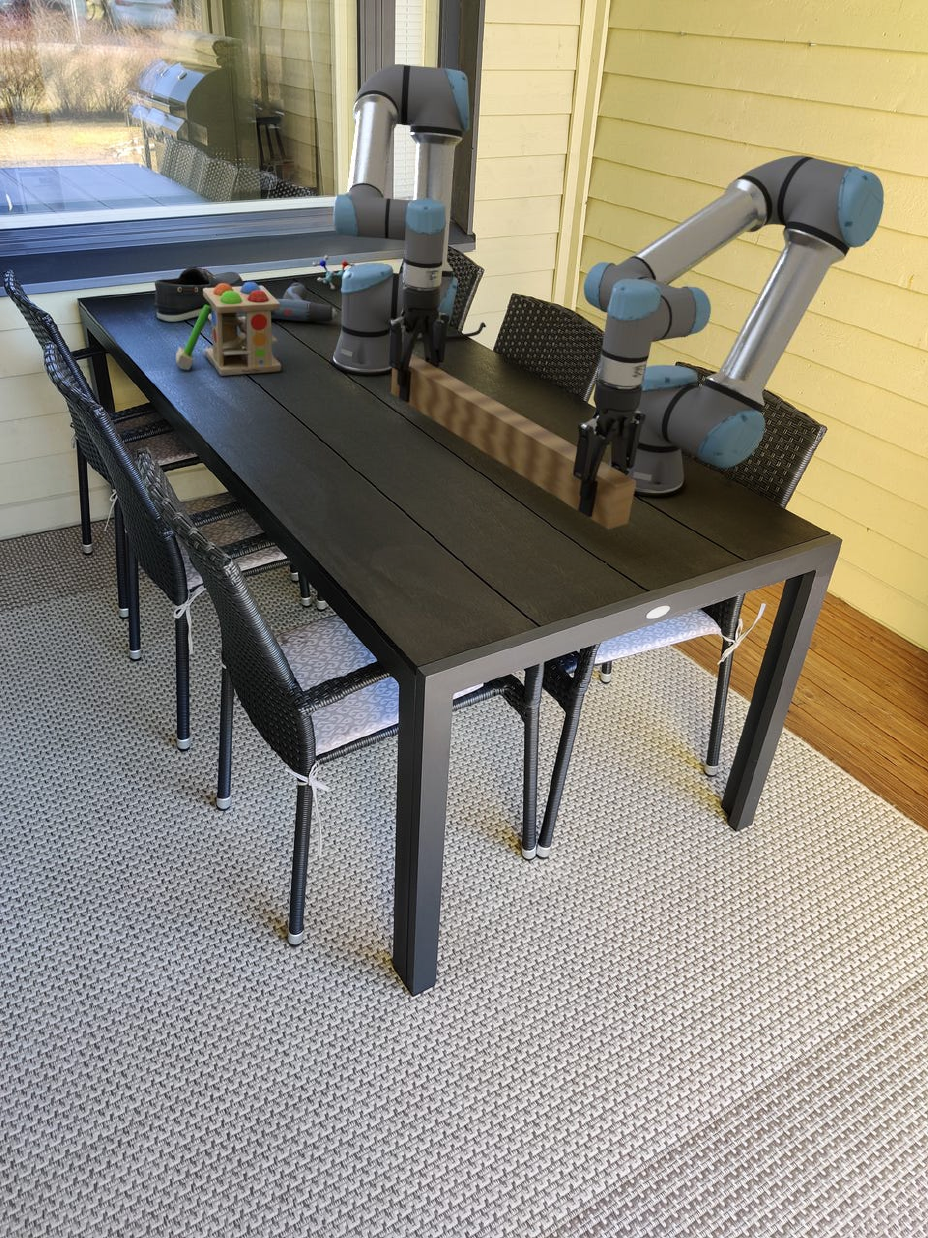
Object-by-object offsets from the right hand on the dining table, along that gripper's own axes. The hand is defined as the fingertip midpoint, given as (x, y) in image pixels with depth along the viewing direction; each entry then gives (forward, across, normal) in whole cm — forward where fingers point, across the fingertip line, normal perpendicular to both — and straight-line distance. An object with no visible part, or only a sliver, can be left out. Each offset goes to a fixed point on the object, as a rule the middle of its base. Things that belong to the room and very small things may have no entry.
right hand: (596, 509), depth 170 cm
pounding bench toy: (+7, -20, +105) cm, 107 cm away
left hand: (0, 0, +56) cm, 56 cm away
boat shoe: (+6, -6, +148) cm, 148 cm away
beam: (+1, 0, +28) cm, 28 cm away
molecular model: (+6, +36, +152) cm, 157 cm away
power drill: (+6, +17, +132) cm, 134 cm away
